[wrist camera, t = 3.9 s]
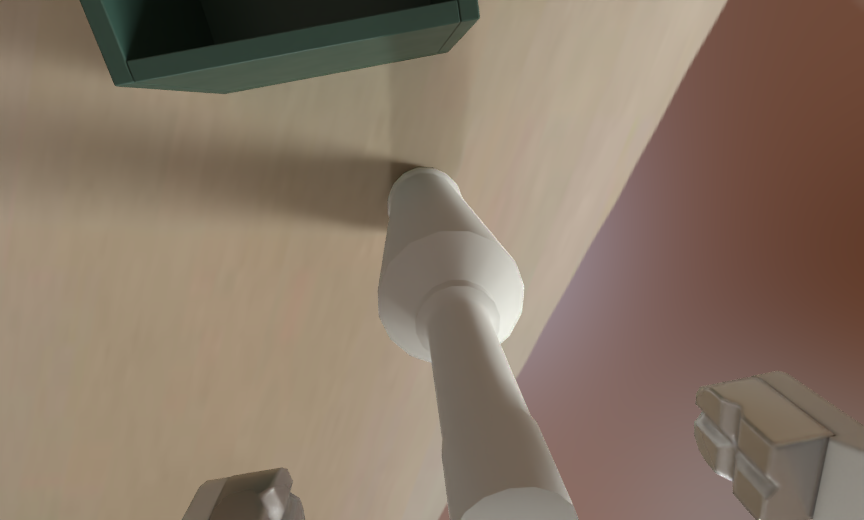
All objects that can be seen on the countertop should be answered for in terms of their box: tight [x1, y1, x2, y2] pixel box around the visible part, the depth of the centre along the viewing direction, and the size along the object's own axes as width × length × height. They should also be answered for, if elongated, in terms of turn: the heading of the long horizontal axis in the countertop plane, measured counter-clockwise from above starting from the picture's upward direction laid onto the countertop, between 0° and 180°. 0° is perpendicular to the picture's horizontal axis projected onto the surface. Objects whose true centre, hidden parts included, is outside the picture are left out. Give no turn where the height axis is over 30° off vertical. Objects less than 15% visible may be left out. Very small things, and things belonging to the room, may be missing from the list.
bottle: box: [378, 167, 579, 520], centre depth 18 cm, size 5×5×25 cm
